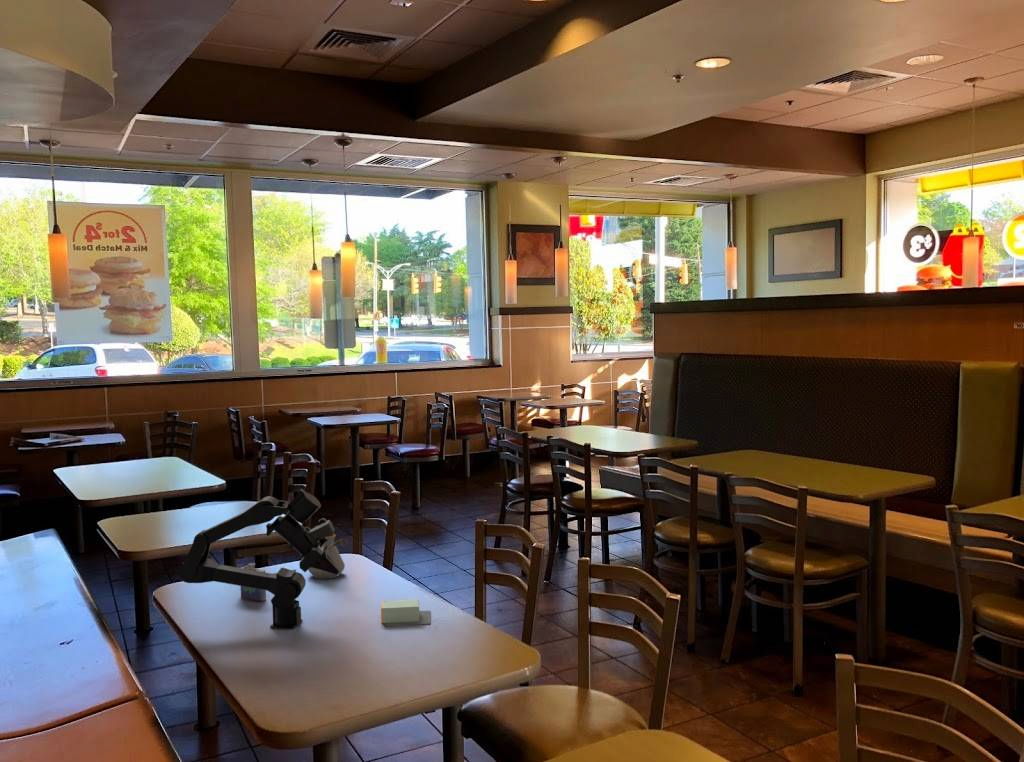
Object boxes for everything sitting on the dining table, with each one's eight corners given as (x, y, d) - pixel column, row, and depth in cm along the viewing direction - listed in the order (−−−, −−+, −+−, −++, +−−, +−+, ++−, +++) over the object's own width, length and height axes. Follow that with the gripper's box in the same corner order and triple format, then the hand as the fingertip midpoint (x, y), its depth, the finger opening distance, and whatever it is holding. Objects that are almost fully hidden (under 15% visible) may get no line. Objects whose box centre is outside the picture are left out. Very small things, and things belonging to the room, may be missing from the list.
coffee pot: (302, 574, 275) (301, 528, 274) (336, 568, 281) (335, 523, 280) (327, 591, 257) (326, 542, 256) (363, 584, 263) (362, 536, 262)
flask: (268, 600, 250) (266, 563, 249) (260, 603, 247) (259, 566, 246) (245, 595, 254) (243, 560, 254) (237, 598, 252) (236, 562, 251)
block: (381, 608, 228) (418, 606, 229) (382, 601, 234) (419, 599, 235) (381, 623, 228) (419, 621, 229) (382, 615, 234) (419, 613, 235)
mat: (384, 626, 227) (384, 625, 226) (386, 613, 236) (386, 612, 236) (430, 624, 228) (430, 623, 228) (430, 611, 238) (430, 610, 238)
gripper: (310, 519, 218) (356, 560, 220) (320, 504, 237) (361, 541, 239) (280, 551, 218) (325, 592, 220) (291, 533, 237) (333, 570, 238)
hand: (338, 572), depth 229 cm, fingers closed
